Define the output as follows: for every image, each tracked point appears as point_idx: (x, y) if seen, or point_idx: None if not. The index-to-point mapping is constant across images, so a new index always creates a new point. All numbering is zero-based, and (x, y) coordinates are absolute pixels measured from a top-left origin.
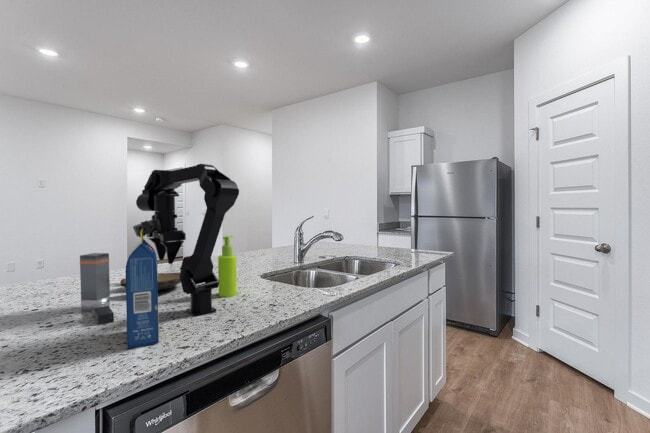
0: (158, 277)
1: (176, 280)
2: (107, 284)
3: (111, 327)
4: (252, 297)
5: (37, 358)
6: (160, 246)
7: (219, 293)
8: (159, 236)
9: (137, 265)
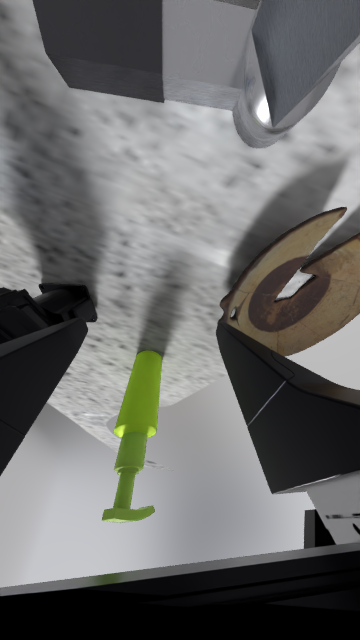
0: (326, 321)
1: None
2: (311, 64)
3: (7, 50)
4: (113, 372)
5: None
6: (256, 383)
7: (147, 353)
8: (358, 519)
9: None
